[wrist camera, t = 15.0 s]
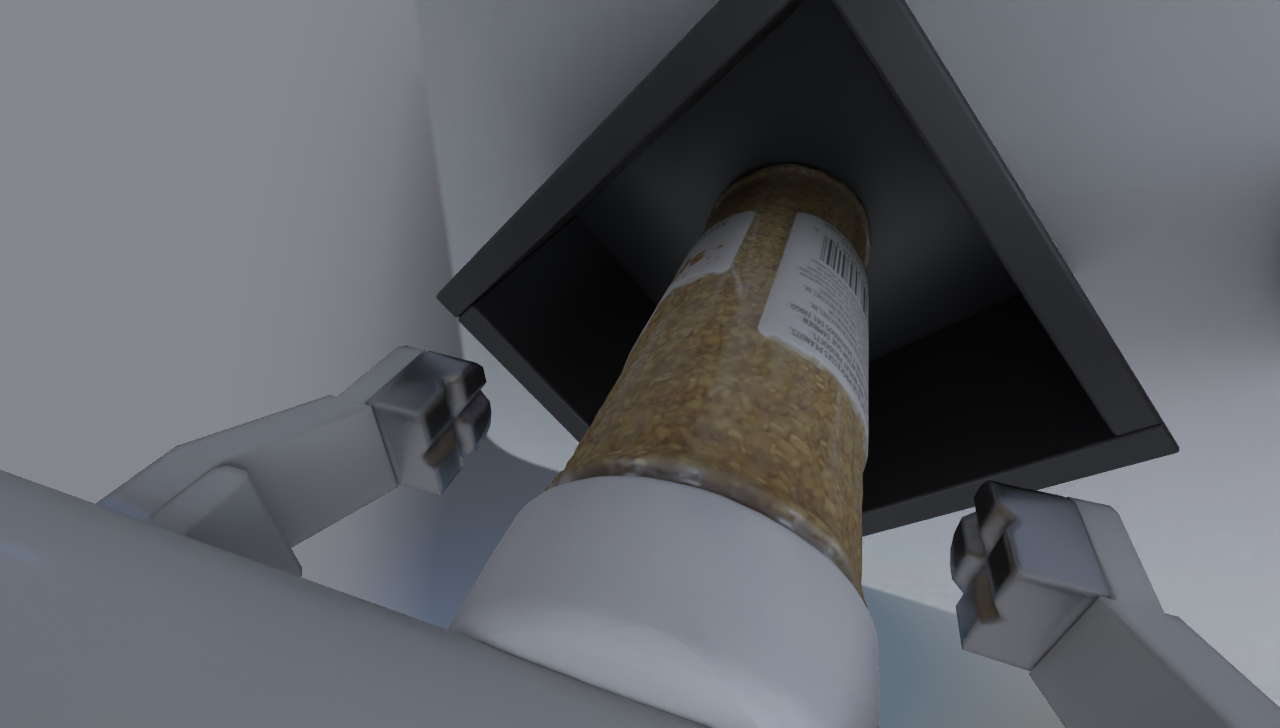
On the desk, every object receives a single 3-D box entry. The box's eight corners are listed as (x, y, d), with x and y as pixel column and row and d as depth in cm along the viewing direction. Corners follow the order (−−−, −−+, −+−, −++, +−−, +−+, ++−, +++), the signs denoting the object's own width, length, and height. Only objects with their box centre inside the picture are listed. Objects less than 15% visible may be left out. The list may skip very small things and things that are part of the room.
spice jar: (694, 174, 16) (343, 598, 5) (872, 145, 14) (874, 703, 3) (720, 318, 18) (512, 813, 8) (876, 310, 16) (885, 943, 6)
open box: (558, 200, 18) (433, 297, 13) (849, -86, 12) (831, -118, 7) (752, 422, 21) (712, 577, 16) (1072, 277, 15) (1182, 452, 10)
